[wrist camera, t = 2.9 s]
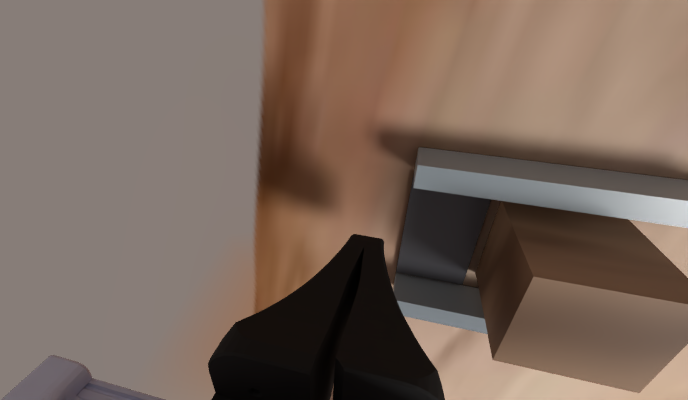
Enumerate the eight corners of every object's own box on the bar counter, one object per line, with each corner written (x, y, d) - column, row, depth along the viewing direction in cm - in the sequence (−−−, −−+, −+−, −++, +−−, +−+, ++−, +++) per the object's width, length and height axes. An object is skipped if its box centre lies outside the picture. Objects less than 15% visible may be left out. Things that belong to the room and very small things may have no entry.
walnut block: (580, 290, 15) (638, 392, 11) (475, 271, 16) (492, 359, 12) (626, 217, 13) (720, 310, 9) (501, 199, 14) (533, 276, 10)
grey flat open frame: (607, 328, 16) (628, 364, 14) (393, 285, 18) (390, 313, 16) (714, 183, 12) (763, 211, 10) (418, 147, 14) (417, 164, 12)
